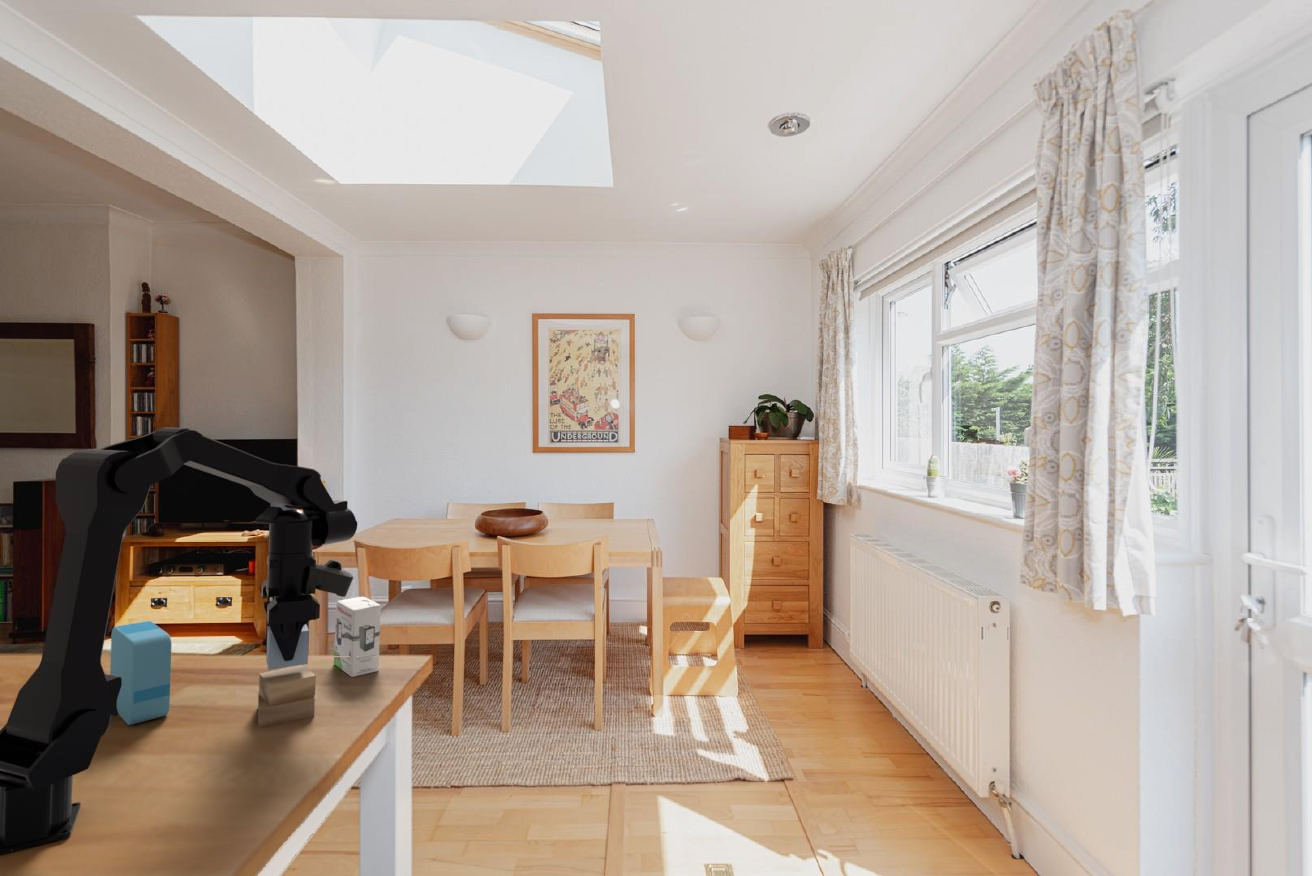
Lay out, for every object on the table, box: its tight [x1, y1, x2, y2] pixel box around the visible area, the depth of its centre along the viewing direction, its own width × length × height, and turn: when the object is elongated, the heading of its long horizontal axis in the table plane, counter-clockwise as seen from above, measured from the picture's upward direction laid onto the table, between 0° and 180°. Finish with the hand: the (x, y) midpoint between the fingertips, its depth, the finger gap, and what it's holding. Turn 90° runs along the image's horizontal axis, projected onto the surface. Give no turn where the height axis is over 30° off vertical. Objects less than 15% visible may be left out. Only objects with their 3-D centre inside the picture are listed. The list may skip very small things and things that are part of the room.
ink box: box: [333, 596, 382, 678], centre depth 113 cm, size 9×5×12 cm, turn 47°
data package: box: [109, 620, 172, 726], centre depth 93 cm, size 12×4×12 cm, turn 52°
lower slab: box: [257, 690, 316, 728], centre depth 94 cm, size 7×7×3 cm
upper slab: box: [258, 664, 317, 706], centre depth 95 cm, size 6×6×3 cm
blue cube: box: [265, 623, 310, 671], centre depth 94 cm, size 5×5×5 cm
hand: (287, 655), depth 94 cm, fingers closed on blue cube, 5 cm apart
